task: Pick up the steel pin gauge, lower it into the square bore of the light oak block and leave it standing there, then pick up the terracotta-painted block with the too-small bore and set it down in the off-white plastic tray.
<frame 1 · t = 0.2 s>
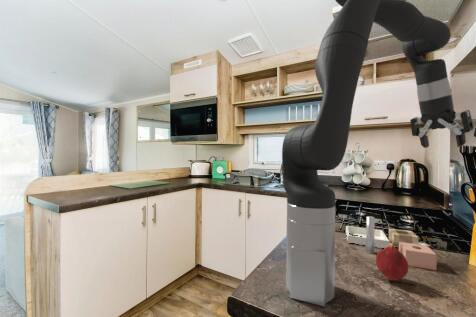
hand: (442, 146, 69), 31 cm above the countertop, tool tilted 20°, fingers open, 8 cm apart
onion: (391, 281, 47), on the countertop
tray: (365, 240, 71), on the countertop
oak block: (402, 245, 67), on the countertop
terracotta block: (416, 263, 56), on the countertop
pin gauge: (370, 252, 62), on the countertop
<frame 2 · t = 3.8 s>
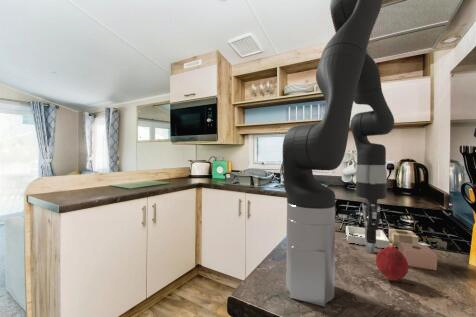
hand: (370, 241, 62), 3 cm above the countertop, tool pointing down, fingers closed on pin gauge, 2 cm apart
pin gauge: (370, 251, 62), on the countertop, touching gripper
everything else where it was.
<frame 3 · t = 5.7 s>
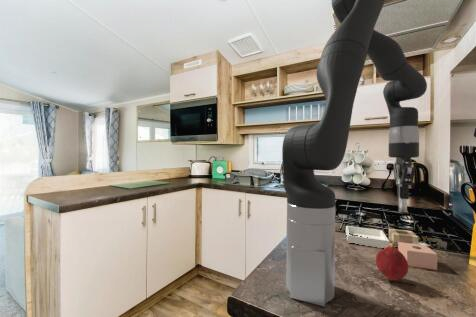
hand: (402, 197, 67), 15 cm above the countertop, tool pointing down, fingers closed on pin gauge
pin gauge: (402, 211, 67), point 10 cm above the countertop, touching gripper
everything else where it was.
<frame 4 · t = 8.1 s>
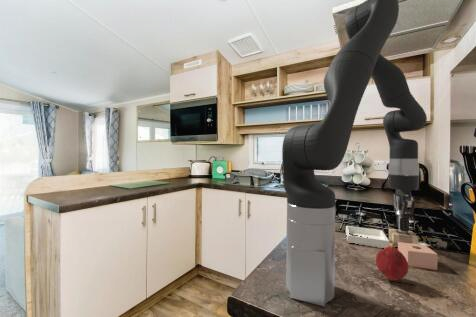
hand: (402, 229, 67), 5 cm above the countertop, tool pointing down, fingers closed
pin gauge: (402, 245, 67), resting in oak block
everything else where it was.
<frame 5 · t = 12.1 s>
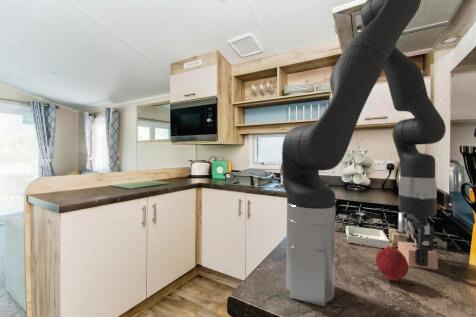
hand: (416, 258, 56), 1 cm above the countertop, tool pointing down, fingers closed on terracotta block, 6 cm apart
terracotta block: (416, 262, 56), on the countertop, touching gripper
everything else where it was.
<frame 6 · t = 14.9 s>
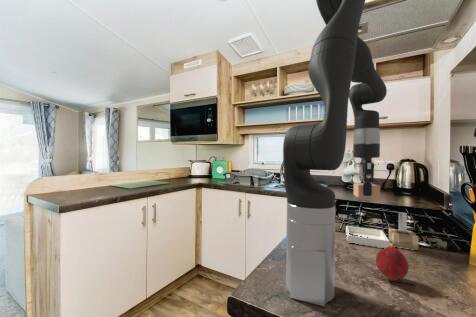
hand: (365, 193, 71), 15 cm above the countertop, tool pointing down, fingers closed on terracotta block, 6 cm apart
terracotta block: (365, 196, 71), point 14 cm above the countertop, touching gripper
everything else where it was.
when the fingers open (3 cm above the countertop, at t = 17.7 s): terracotta block drops 1 cm, resting on tray.
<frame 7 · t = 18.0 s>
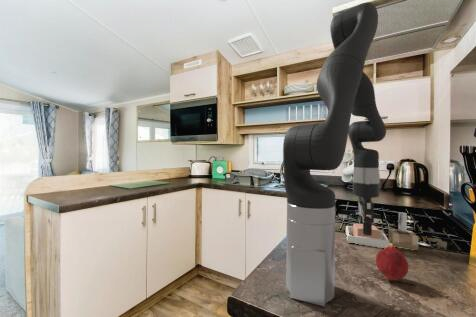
hand: (365, 230, 71), 3 cm above the countertop, tool pointing down, fingers open, 8 cm apart
terracotta block: (365, 238, 71), resting on tray
everything else where it was.
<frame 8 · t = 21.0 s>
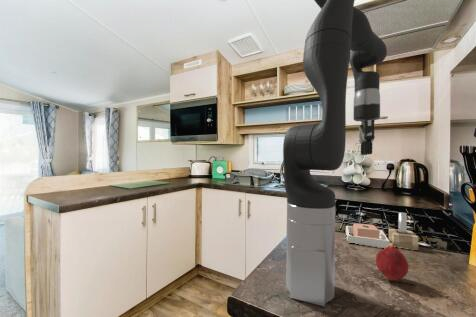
hand: (366, 154, 71), 28 cm above the countertop, tool pointing down, fingers open, 8 cm apart
nothing on the countertop moved.
at the end: terracotta block inside the target area on the tray (0.0 cm from its centre), point 0.5 cm above the tray's base; pin gauge 0.1 cm from the oak block (horizontally); oak block moved 0.0 cm from its start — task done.
